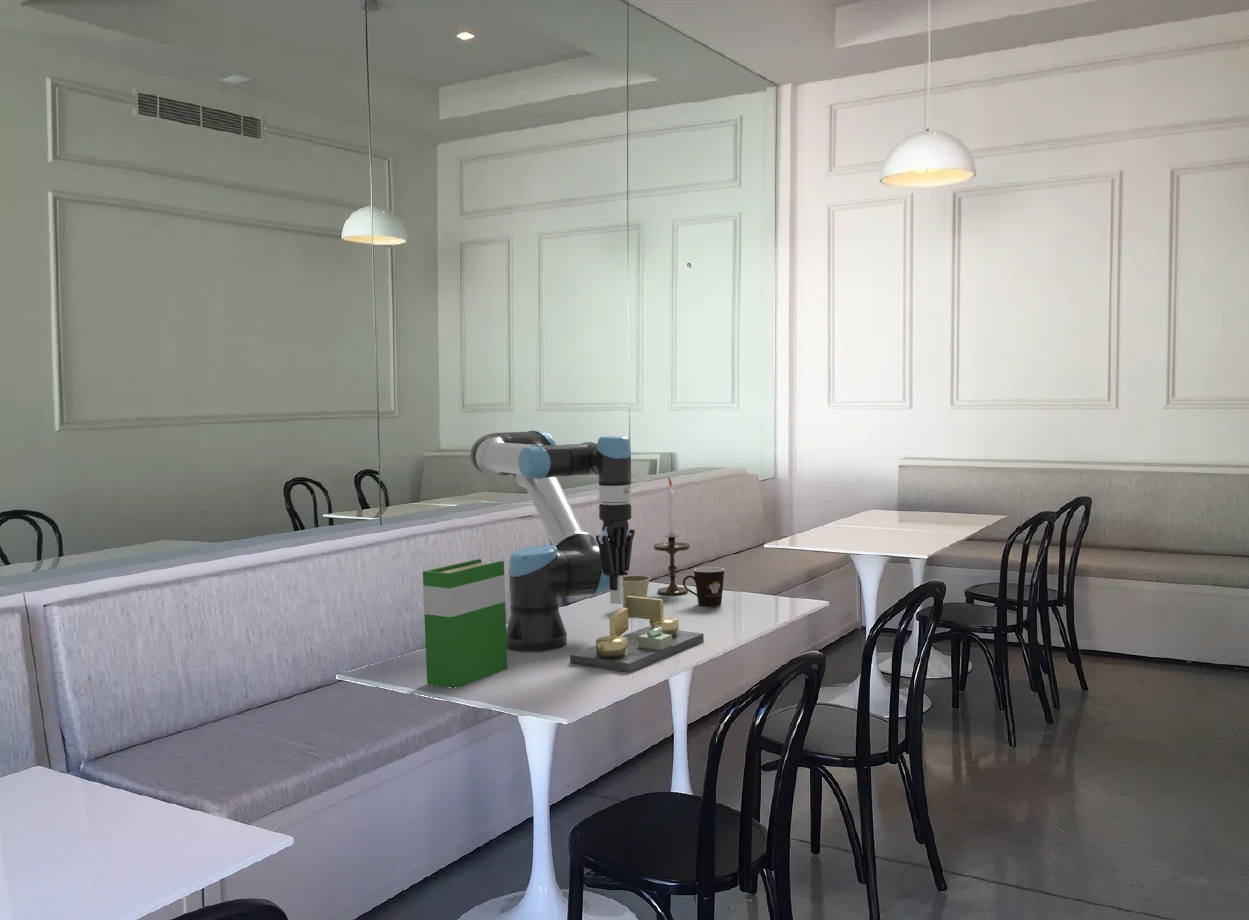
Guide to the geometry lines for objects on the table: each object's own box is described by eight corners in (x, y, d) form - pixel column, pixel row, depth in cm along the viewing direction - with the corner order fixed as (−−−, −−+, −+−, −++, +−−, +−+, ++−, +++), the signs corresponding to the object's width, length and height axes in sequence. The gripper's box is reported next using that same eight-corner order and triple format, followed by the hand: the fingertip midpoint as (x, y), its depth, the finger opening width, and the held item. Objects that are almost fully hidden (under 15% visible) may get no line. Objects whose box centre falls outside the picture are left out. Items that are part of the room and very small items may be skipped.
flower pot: (612, 607, 296) (611, 577, 296) (642, 604, 300) (641, 574, 300) (626, 613, 288) (625, 582, 287) (657, 609, 292) (656, 579, 291)
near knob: (622, 657, 231) (621, 621, 231) (592, 655, 233) (591, 620, 233) (640, 642, 244) (639, 608, 244) (612, 641, 247) (611, 607, 246)
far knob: (684, 631, 255) (683, 598, 254) (668, 637, 249) (668, 603, 248) (635, 625, 262) (635, 593, 262) (619, 631, 257) (619, 598, 256)
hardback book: (481, 664, 237) (478, 559, 235) (507, 668, 233) (503, 561, 231) (427, 684, 222) (422, 571, 221) (453, 688, 218) (449, 573, 217)
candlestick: (649, 591, 319) (646, 476, 317) (682, 588, 323) (679, 474, 321) (663, 597, 309) (660, 478, 307) (696, 594, 313) (694, 476, 311)
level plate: (629, 672, 227) (628, 645, 227) (570, 663, 236) (569, 637, 236) (703, 641, 253) (703, 617, 253) (647, 634, 262) (647, 610, 262)
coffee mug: (725, 601, 301) (724, 566, 300) (725, 607, 292) (724, 572, 292) (684, 601, 302) (683, 567, 301) (683, 608, 293) (682, 572, 293)
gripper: (612, 506, 237) (614, 610, 239) (643, 500, 248) (645, 599, 250) (585, 505, 241) (587, 606, 243) (617, 499, 252) (619, 596, 254)
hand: (616, 603), depth 246 cm, fingers closed
